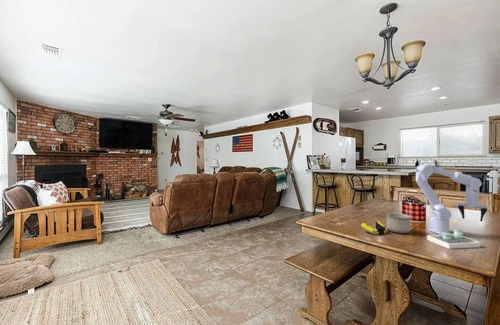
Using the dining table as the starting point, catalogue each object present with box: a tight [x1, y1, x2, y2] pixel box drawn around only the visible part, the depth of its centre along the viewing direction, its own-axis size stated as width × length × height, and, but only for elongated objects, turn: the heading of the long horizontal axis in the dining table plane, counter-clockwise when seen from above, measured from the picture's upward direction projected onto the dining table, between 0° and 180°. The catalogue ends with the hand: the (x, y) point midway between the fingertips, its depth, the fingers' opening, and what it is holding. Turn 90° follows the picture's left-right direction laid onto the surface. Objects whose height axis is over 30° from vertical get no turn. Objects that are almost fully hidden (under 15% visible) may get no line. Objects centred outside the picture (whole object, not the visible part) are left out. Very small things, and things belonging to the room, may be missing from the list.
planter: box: [386, 212, 411, 234], centre depth 145 cm, size 13×13×10 cm
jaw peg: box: [453, 228, 464, 239], centre depth 124 cm, size 4×4×6 cm
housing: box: [426, 232, 482, 250], centre depth 124 cm, size 18×13×6 cm
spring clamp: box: [361, 220, 388, 235], centre depth 144 cm, size 15×6×10 cm
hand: (472, 219), depth 136 cm, fingers open, 7 cm apart
